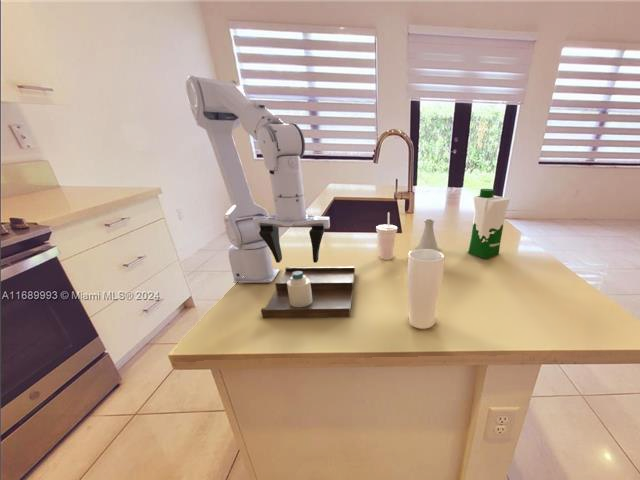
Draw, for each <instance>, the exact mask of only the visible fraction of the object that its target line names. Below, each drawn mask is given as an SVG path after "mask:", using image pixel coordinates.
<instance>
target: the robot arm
mask: <svg viewBox="0 0 640 480" xmlns="http://www.w3.org/2000/svg"><path fill="white" fill-rule="evenodd" d="M185 94H186V98H187V102H188V105H189V108H190V111H191V113H192V117H193V119H194V120H195V122H196V123H195V124H196V125H197V126H198V127H200V128H201V129H204V130H205V132H206V134H207V137H208V140H209V142H210V145H211V147H212V150H213V153H214V156H215V160H216V162H217V164H218V168H219V172H220V174H221V177H222V180H223V183H224V186H225V189H226V192H227V195H228V198H229V201H230V204H231V207H230V208H229V210H228V211H227V212H226V213H225V214H224V216H223V223H224V225H225V233H226V236H227V239H228V241H229V242H230V244H231V245H230V247H229V249H228V260H229V264H230V269H231V272H232V277H233V283H234V284H256V283H257V284H261V283H262V284H263V283H264V284H265V283H266V284H267V283H268V284H270V283H272V282H273V281H274V279H275V278H276V276H277V275H278V274H279V272H280V269H279V268H274V264H273V263H274V262H273V258H274V260H275V263H276V264H279V263H281V262H282V260H283V254H282V249H281V244H280V243H281V242H280V233H279V232H280V231H279V229H280V228H303V229H304V228H307V229H308V228H310V230H309V231H308V234H309V238H310V242H311V243H310V244H311V249H312V261H313V263H314V264H315V263H316V264H317V263H318V261H319V255H320V247H321V243H322V239H323V236H324V233H325V230H328V229H330V227H331V221H330V220H331V219H330V216H321V215H320V216H319V215H312V214H311V215H309V214H307V208H306V199H305V190H304V181H303V174H302V163H301V159H302V158H303V157H304V155H305V152H306V140H305V139H306V138H305V135H304V133H303V131H302V129H301V128H300V127H299V126H298V124H297V123H295V122H290V123H285V122H283V121H282V119H280V117H279V116H278V115H276V114H274V113H273V112H272V111H270V110H269V109H268V108H267V105H266V104H265V103H264V102H263V101H254V102H252V101H250V100H249V98H248V97H247V96H246V95H245V91H244V88H243V85H241V84H240V83H239V82H238V81H237V80H223V79H215V78H206V77H200V76H199V77H198V76H195V75H191V74H190V75H188V76H187V78H186V79H185ZM240 126H241V127H242V129H243V130H244V131H246V133H247V134H248V135H249V136H251V137H252V139H254V140H255V141H256V142H257V145H258V148H259V151H260V154H261V155H262V158H263V163H264V166H265V169H266V170H268V173H269V180H270V185H271V192H272V193H271V194H272V199H273V205H274V211H275V214H274V215H273V214H272V215H269V213H268V210H267V209H266V208H264V207H262V206H260V205H259V204H257V203H255V200H254V198H253V195H252V192H251V189H250V186H249V182H248V179H247V175H246V174H245V173H246V172H245V170H244V167H243V163H242V161H241V158H240V154H239V152H238V151H239V150H238V149H237V145H236V142H235V139H234V136H233V131H234V130H236V129H238V128H239V127H240ZM272 255H273V258H272ZM243 276H244V277H243ZM242 277H243V278H242ZM237 282H238V283H237Z"/></svg>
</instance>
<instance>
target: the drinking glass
mask: <svg viewBox="0 0 640 480" xmlns="http://www.w3.org/2000/svg"><path fill="white" fill-rule="evenodd" d="M444 262H445V255H444V253H443V252H441V251H439V250H438V251H436V250H432V249H417V248H416V249H412V250H411V251H409V252H408V254H407V268H406V269H407V271H406V274H407V276H406V277H407V279H406V280H407V294H408V295H407V297H408V298H407V299H408V322H409V324H410V325H411V326H412V327H414V328H415V329H419V330H421V329H422V330H425V329H429V328H432V327H433V326H434V325H435V323H436V314H437V310H438V309H437V308H438V303H439V299H440V292H441V287H442V282H443V276H444V267H445V266H444V265H445V264H444Z"/></svg>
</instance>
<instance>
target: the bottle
mask: <svg viewBox="0 0 640 480" xmlns="http://www.w3.org/2000/svg"><path fill="white" fill-rule="evenodd" d="M287 287H288V294H289V300H290V304H291V305H292V306H294V307H305V306H308V305H310V304H311V303H312V301H313V300H312V292H311V284H310V280H309V279H308V278H306V276H305V275H303V272H301V271H296V272H293V273H292V276H291V277H290V280H289V281H288V282H287Z"/></svg>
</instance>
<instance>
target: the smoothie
mask: <svg viewBox="0 0 640 480" xmlns="http://www.w3.org/2000/svg"><path fill="white" fill-rule="evenodd" d="M390 214H391V213H390V212H389V211H388V212H387V224H378V225H376V227H375V231H376V232H377V241H378V247H379V255H380V256H379V257H380V259H381V260H386V261H390V260H391V259H393V257H394V250H395V242H396V237H397V232H398V226H396V225H393V224H391V223H390V218H391V217H390V216H391V215H390Z"/></svg>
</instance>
